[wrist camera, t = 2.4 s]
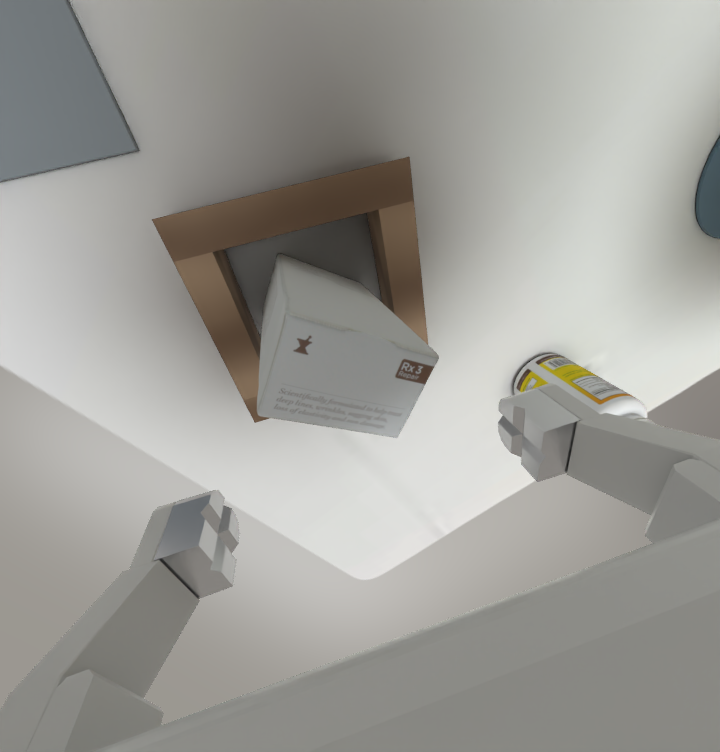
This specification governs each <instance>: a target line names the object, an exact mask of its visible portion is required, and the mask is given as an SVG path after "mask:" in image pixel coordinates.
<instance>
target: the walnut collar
mask: <svg viewBox="0 0 720 752" xmlns="http://www.w3.org/2000/svg"><path fill="white" fill-rule="evenodd" d="M363 213H367V217H368V223H369V229H370V234H371V240H372V246H373V252H374V257H375V263H376V269H377V275H378V280H379V286H380V292H381V298H382V303H383V304H384V305H385V306H386V307H387V308H388V309H389V310H391V311H392V312H393V313H394V314H395V315H396V316H397V317H398V318H399V319H400V320H402V321H403V322H404V323H405V324H406V325H407V326H408V327H409V328H410V329H411V330H412V331H413V332H415V333H416V334H417V335H418V336H419V337H420V338H421V339H422V340H423V341H424V342H425V343H426V344H427V345H428V339H427V328H426V318H425V308H424V298H423V288H422V278H421V268H420V258H419V248H418V238H417V228H416V218H415V208H414V198H413V188H412V178H411V168H410V158H409V157H406V158H402V159H398V160H394V161H390V162H386V163H381V164H377V165H373V166H369V167H365V168H361V169H357V170H353V171H349V172H345V173H340V174H336V175H332V176H328V177H324V178H320V179H316V180H312V181H308V182H304V183H299V184H295V185H291V186H287V187H283V188H279V189H275V190H271V191H267V192H263V193H258V194H254V195H250V196H246V197H242V198H238V199H234V200H230V201H226V202H221V203H217V204H213V205H209V206H205V207H201V208H197V209H193V210H189V211H185V212H180V213H176V214H172V215H168V216H164V217H160V218H156V219H152V221H153V223H154V225H155V227H156V229H157V231H158V233H159V234H160V236H161V238H162V240H163V242H164V244H165V246H166V248H167V250H168V252H169V254H170V256H171V258H172V260H173V262H174V264H175V266H176V268H177V270H178V272H179V274H180V276H181V278H182V280H183V282H184V284H185V286H186V288H187V290H188V292H189V294H190V296H191V298H192V300H193V302H194V304H195V306H196V307H197V309H198V311H199V313H200V315H201V317H202V319H203V321H204V323H205V325H206V327H207V329H208V331H209V333H210V335H211V337H212V339H213V341H214V343H215V345H216V347H217V349H218V351H219V353H220V355H221V357H222V359H223V361H224V363H225V365H226V367H227V369H228V371H229V373H230V375H231V377H232V379H233V381H234V382H235V384H236V386H237V388H238V390H239V392H240V394H241V396H242V398H243V400H244V402H245V404H246V406H247V408H248V410H249V412H250V414H251V416H252V418H253V420H254V422H255V423H256V422H259V421H262V420H266V419H269V418H267V417H261V416H259V415H258V414H257V396H258V388H259V365H260V364H259V363H260V348H261V338H260V336H259V333H258V331H257V328H256V326H255V324H254V321H253V319H252V316H251V314H250V312H249V309H248V307H247V304H246V302H245V300H244V297H243V295H242V292H241V290H240V288H239V285H238V283H237V280H236V278H235V275H234V273H233V271H232V268H231V266H230V263H229V261H228V259H227V256H226V254H225V251H224V249H226V248H230V247H234V246H238V245H242V244H246V243H250V242H254V241H258V240H262V239H266V238H270V237H273V236H277V235H281V234H285V233H289V232H293V231H297V230H301V229H305V228H309V227H313V226H317V225H320V224H324V223H328V222H332V221H336V220H340V219H344V218H348V217H352V216H356V215H360V214H363Z"/></svg>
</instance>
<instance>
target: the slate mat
mask: <svg viewBox="0 0 720 752" xmlns="http://www.w3.org/2000/svg"><path fill="white" fill-rule="evenodd" d="M136 151H139V149H138V147H137V144H136V142H135V140H134V138H133V136H132V134H131V132H130V130H129V128H128V126H127V123H126V121H125V119H124V117H123V115H122V113H121V111H120V109H119V107H118V105H117V102H116V100H115V98H114V96H113V94H112V92H111V90H110V88H109V86H108V83H107V81H106V79H105V77H104V75H103V73H102V71H101V69H100V67H99V65H98V62H97V60H96V58H95V56H94V54H93V52H92V50H91V48H90V46H89V44H88V41H87V39H86V37H85V35H84V33H83V31H82V29H81V27H80V25H79V22H78V20H77V18H76V16H75V14H74V12H73V10H72V8H71V6H70V4H69V1H68V0H0V182H3V181H8V180H12V179H17V178H21V177H25V176H30V175H34V174H39V173H43V172H48V171H52V170H56V169H61V168H65V167H70V166H74V165H78V164H83V163H87V162H92V161H96V160H101V159H105V158H109V157H114V156H118V155H123V154H127V153H131V152H136Z"/></svg>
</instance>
